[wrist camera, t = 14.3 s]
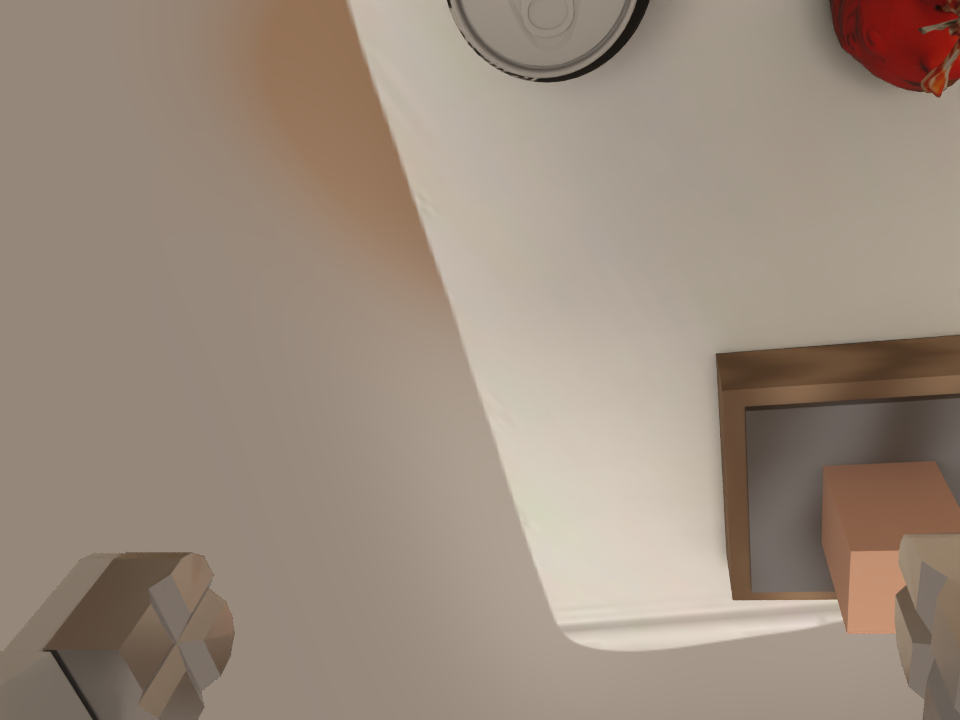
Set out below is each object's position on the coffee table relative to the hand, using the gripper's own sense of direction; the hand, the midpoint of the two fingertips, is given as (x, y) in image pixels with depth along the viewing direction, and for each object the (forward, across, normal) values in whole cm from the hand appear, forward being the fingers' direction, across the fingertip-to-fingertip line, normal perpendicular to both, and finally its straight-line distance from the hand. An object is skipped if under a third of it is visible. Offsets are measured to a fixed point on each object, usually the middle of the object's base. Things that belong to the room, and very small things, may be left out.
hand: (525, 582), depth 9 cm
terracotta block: (+27, -11, +22) cm, 37 cm away
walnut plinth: (+31, -11, +22) cm, 40 cm away
